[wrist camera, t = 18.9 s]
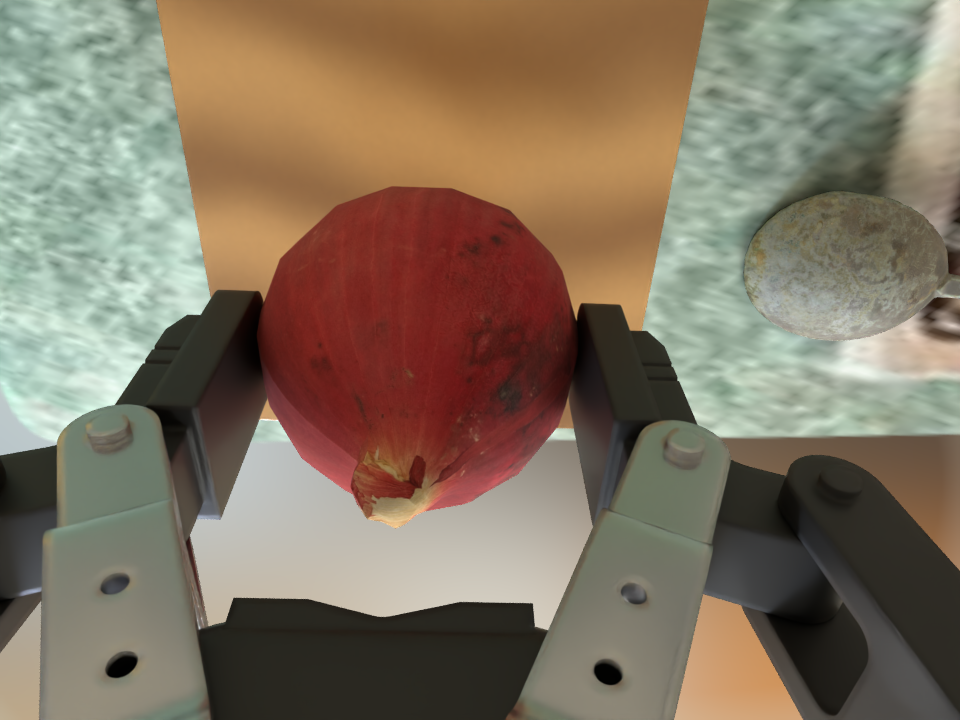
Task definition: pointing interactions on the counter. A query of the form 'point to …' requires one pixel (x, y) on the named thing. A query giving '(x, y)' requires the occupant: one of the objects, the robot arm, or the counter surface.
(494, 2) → the cabinet
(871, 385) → the counter surface
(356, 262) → the onion
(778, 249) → the soupspoon
